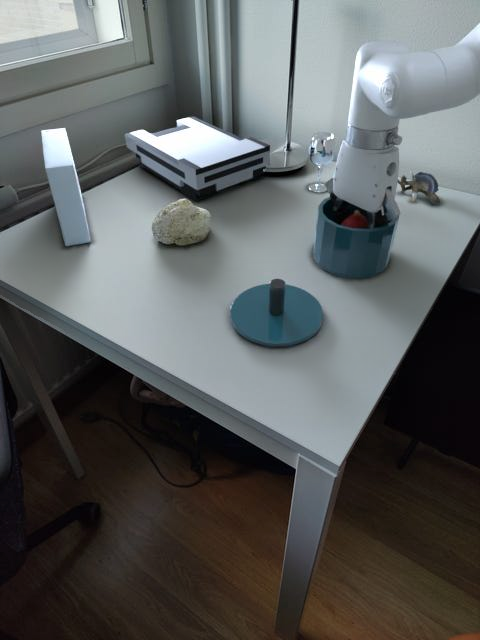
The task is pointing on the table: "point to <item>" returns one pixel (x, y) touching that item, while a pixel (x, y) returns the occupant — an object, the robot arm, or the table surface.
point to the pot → (352, 244)
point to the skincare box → (65, 186)
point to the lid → (276, 314)
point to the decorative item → (181, 223)
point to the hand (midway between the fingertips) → (354, 236)
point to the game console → (199, 156)
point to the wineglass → (321, 155)
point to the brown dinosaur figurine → (421, 186)
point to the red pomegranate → (355, 221)
